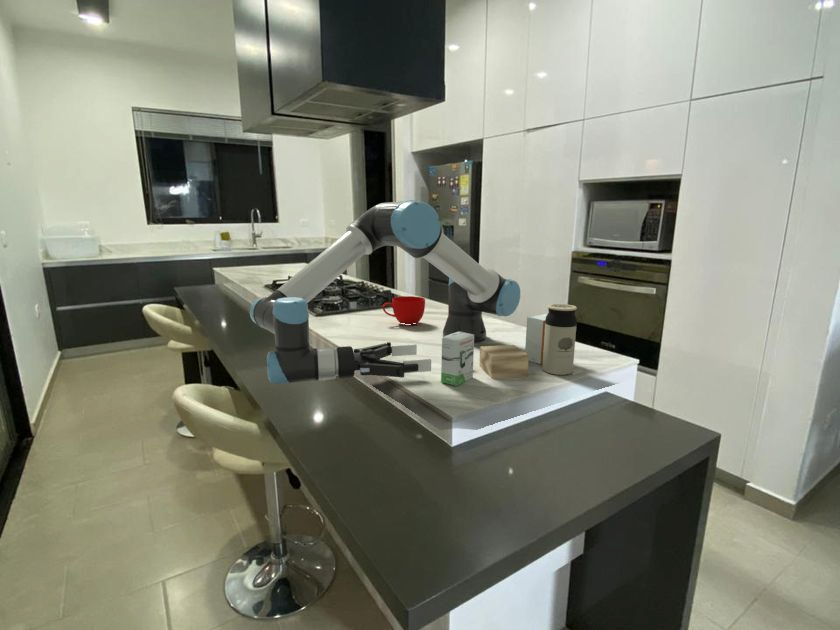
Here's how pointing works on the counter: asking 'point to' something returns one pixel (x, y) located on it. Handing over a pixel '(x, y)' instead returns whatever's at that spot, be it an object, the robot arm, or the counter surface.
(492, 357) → the oak block
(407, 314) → the ceramic cup
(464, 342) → the ink box
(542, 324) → the small box
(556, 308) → the travel mug
